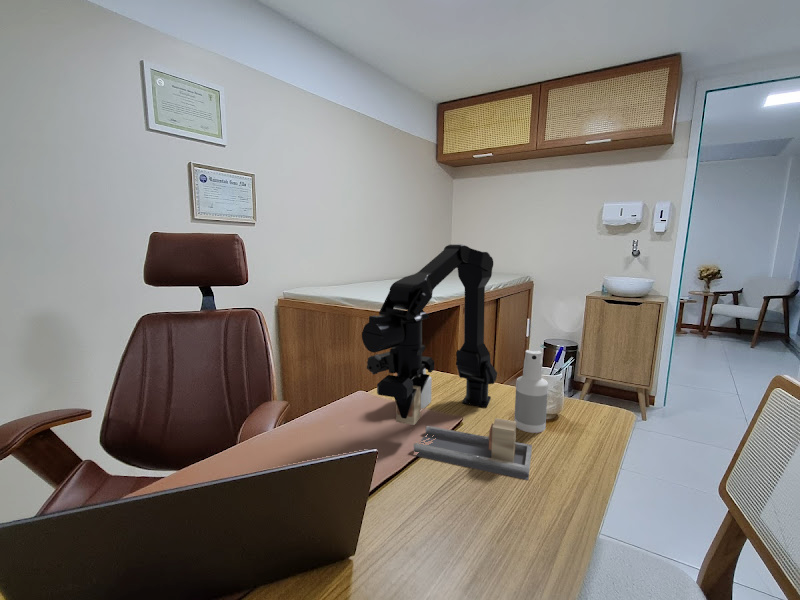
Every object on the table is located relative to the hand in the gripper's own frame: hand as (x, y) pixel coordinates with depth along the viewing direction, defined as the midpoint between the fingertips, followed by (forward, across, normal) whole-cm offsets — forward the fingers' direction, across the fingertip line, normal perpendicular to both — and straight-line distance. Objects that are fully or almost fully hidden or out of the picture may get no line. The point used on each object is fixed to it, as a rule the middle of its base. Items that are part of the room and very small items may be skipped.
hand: (408, 413), depth 81 cm
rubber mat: (+6, +1, +14) cm, 15 cm away
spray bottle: (+6, -15, +24) cm, 29 cm away
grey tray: (+6, +1, +14) cm, 15 cm away
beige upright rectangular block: (+6, +1, +20) cm, 21 cm away
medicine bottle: (+6, -17, -5) cm, 19 cm away
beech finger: (+2, 0, 0) cm, 2 cm away
